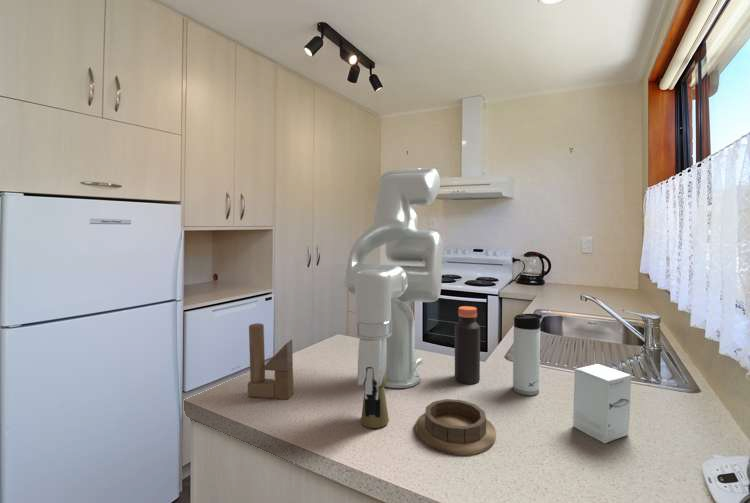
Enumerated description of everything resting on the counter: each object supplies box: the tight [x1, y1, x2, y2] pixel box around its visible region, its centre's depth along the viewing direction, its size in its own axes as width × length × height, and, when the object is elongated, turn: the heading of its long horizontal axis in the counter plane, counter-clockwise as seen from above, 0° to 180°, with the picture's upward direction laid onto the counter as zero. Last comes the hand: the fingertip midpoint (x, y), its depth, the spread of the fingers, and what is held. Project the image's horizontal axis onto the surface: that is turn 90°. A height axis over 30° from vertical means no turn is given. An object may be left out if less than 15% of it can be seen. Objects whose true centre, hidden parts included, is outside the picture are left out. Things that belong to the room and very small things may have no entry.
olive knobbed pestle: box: [360, 373, 390, 429], centre depth 80 cm, size 6×6×11 cm
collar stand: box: [415, 398, 497, 456], centre depth 77 cm, size 16×16×4 cm
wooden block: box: [247, 323, 294, 400], centre depth 94 cm, size 4×11×18 cm, turn 82°
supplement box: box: [572, 363, 632, 444], centre depth 76 cm, size 7×7×13 cm
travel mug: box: [512, 313, 543, 397], centre depth 95 cm, size 6×7×20 cm
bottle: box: [454, 305, 481, 385], centre depth 103 cm, size 7×7×20 cm
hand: (374, 409), depth 81 cm, fingers closed on olive knobbed pestle, 4 cm apart
